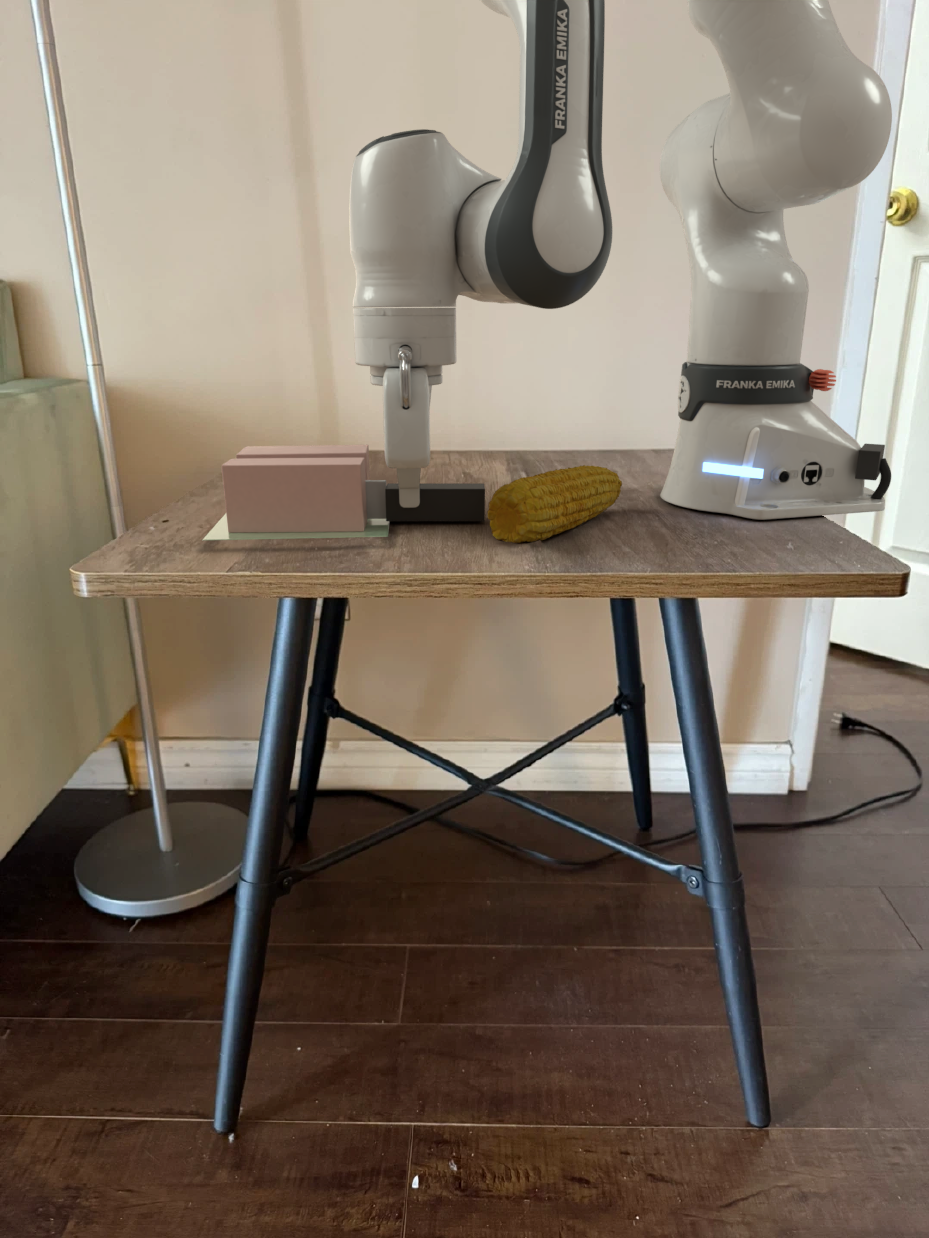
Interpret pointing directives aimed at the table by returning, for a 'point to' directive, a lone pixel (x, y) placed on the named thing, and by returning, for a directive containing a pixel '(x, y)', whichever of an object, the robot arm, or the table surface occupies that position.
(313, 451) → the pink rectangular block
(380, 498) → the knife
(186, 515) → the table surface
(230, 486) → the dusty pink brick
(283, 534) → the plate
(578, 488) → the food
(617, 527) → the table surface
